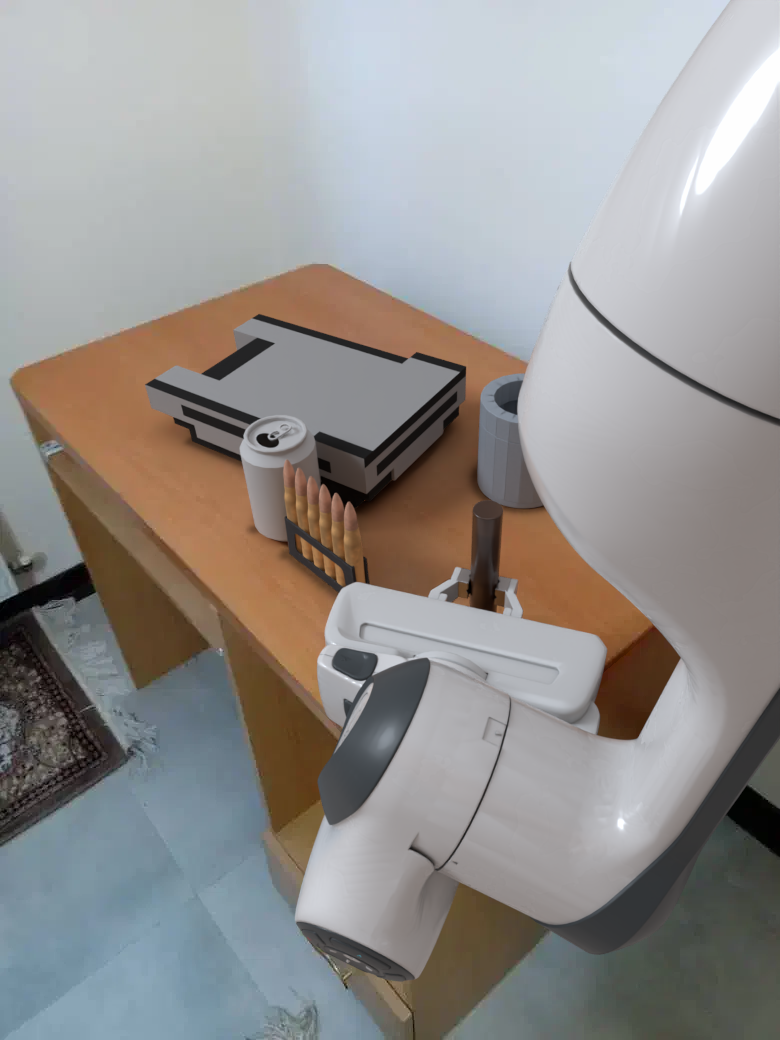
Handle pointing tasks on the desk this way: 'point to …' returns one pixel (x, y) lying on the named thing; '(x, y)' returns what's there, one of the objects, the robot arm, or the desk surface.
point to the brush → (485, 554)
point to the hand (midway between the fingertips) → (486, 578)
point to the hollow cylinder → (503, 446)
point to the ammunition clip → (322, 531)
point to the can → (275, 467)
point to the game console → (319, 401)
